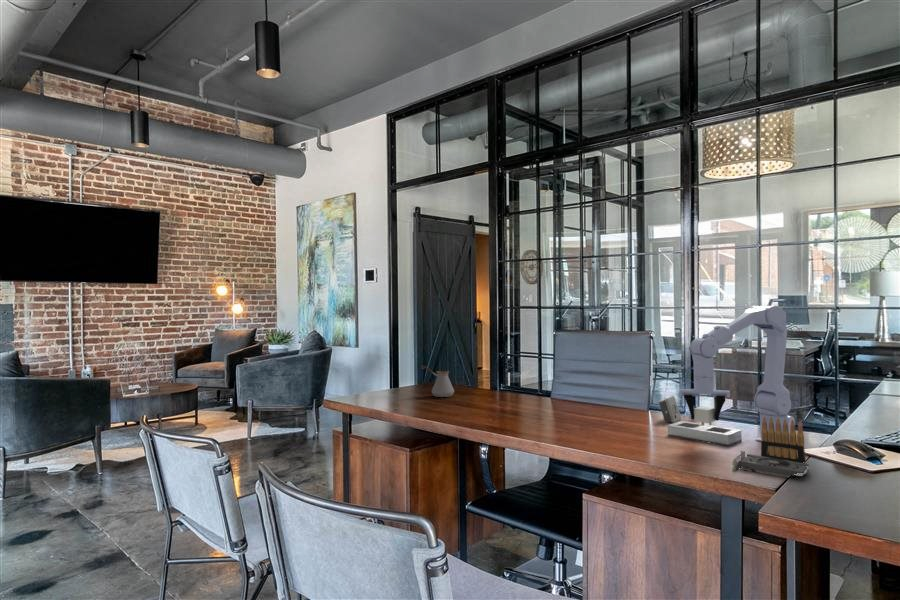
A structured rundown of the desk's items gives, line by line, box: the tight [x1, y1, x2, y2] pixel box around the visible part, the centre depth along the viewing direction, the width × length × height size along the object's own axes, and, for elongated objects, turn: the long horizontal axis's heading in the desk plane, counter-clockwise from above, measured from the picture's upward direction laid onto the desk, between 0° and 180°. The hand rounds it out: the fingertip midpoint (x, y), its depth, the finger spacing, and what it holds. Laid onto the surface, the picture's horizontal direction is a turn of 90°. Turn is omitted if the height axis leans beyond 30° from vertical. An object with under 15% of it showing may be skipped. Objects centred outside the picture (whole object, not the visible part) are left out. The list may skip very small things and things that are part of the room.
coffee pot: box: [421, 365, 455, 398], centre depth 276 cm, size 21×12×15 cm, turn 43°
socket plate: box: [667, 420, 743, 447], centre depth 181 cm, size 20×10×4 cm, turn 40°
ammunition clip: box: [760, 417, 806, 463], centre depth 154 cm, size 11×2×12 cm, turn 50°
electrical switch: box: [658, 395, 682, 424], centre depth 209 cm, size 9×5×9 cm, turn 141°
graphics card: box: [731, 450, 810, 479], centre depth 144 cm, size 17×4×12 cm
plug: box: [693, 406, 716, 426], centre depth 171 cm, size 4×5×5 cm
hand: (704, 419), depth 171 cm, fingers closed on plug, 6 cm apart
